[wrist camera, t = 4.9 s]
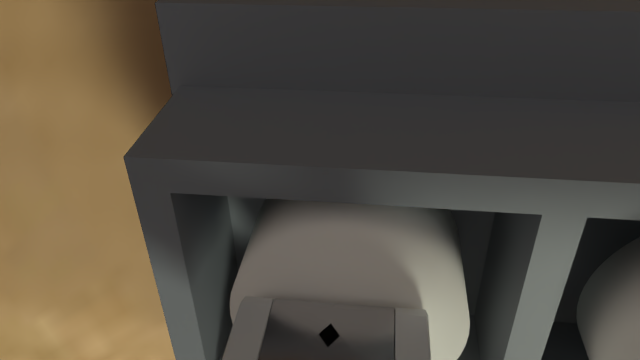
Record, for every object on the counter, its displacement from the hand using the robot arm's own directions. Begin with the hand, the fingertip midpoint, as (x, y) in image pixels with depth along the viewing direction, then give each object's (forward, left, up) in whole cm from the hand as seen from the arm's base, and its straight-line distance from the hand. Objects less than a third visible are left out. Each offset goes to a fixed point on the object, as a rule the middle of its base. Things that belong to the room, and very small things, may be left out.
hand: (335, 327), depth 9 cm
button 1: (0, 0, -2) cm, 2 cm away
